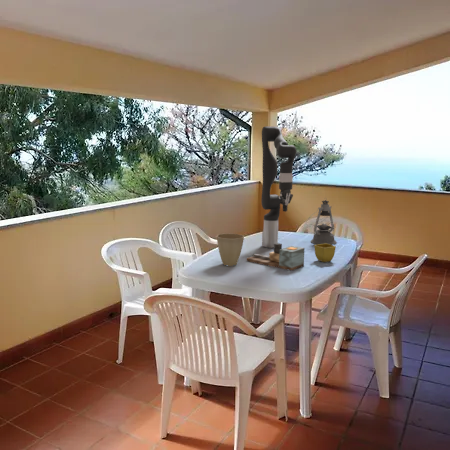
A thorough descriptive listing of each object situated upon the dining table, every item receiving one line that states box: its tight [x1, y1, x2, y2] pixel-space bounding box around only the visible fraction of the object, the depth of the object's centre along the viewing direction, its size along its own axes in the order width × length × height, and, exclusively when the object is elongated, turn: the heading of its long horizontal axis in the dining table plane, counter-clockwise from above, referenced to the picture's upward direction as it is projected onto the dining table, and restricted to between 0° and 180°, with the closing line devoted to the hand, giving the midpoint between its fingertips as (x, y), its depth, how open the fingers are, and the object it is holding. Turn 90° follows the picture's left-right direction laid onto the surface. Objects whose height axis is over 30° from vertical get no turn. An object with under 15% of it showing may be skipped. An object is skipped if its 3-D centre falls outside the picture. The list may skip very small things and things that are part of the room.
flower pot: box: [313, 243, 337, 263], centre depth 260 cm, size 9×9×9 cm
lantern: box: [305, 198, 338, 245], centre depth 307 cm, size 18×20×30 cm
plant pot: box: [216, 233, 245, 267], centre depth 251 cm, size 15×15×16 cm
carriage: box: [268, 242, 283, 262], centre depth 252 cm, size 7×6×10 cm
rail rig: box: [246, 245, 305, 271], centre depth 254 cm, size 30×12×10 cm, turn 49°
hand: (284, 211), depth 264 cm, fingers closed
